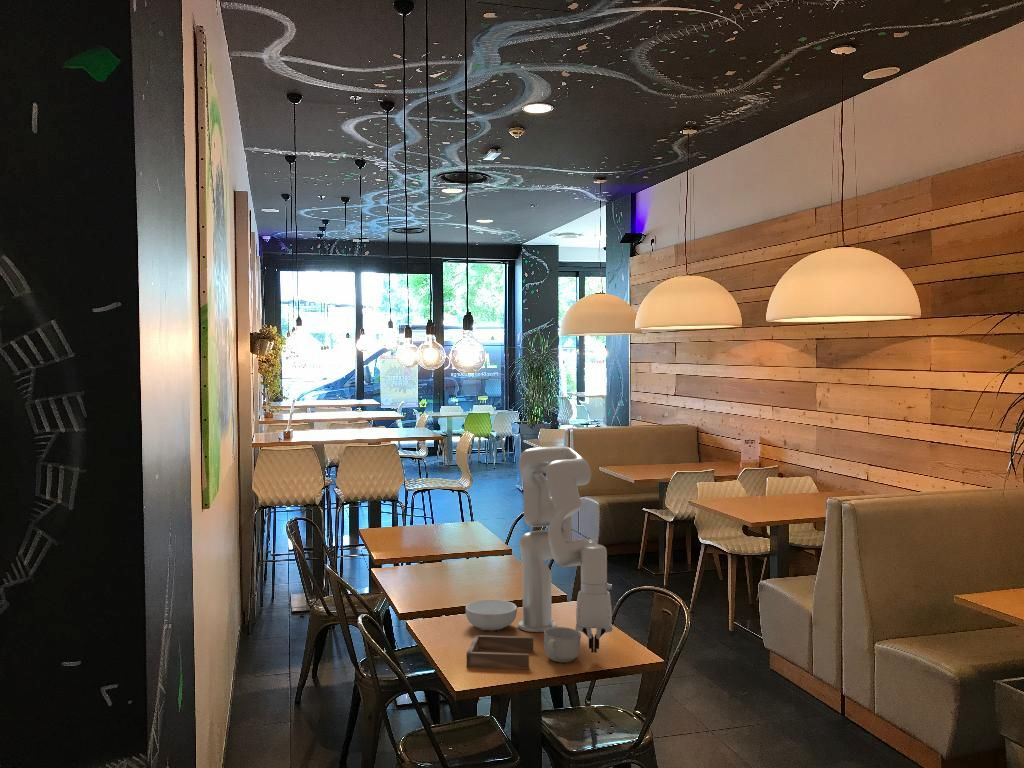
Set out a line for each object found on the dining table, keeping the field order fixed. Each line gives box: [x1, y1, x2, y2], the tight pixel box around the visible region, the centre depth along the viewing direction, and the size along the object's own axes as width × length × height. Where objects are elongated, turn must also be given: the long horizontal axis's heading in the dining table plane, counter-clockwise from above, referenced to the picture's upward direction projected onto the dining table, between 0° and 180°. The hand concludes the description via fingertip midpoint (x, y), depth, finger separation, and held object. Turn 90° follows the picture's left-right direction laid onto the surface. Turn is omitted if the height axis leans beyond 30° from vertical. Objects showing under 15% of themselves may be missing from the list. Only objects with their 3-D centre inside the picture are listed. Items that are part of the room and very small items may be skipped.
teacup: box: [543, 626, 582, 663], centre depth 239 cm, size 14×11×8 cm
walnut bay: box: [466, 634, 534, 670], centre depth 241 cm, size 16×18×4 cm
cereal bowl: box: [465, 599, 518, 631], centre depth 271 cm, size 17×17×7 cm
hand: (593, 651), depth 238 cm, fingers closed
